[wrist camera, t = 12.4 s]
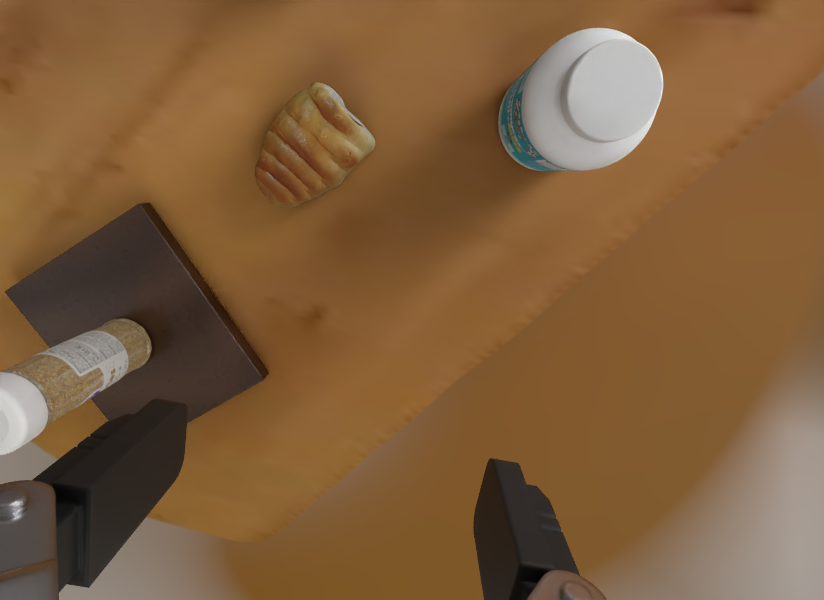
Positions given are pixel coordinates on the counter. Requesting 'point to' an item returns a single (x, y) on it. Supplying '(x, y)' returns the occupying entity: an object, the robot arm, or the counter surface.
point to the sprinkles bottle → (66, 378)
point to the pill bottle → (581, 103)
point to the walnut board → (143, 315)
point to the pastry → (310, 147)
